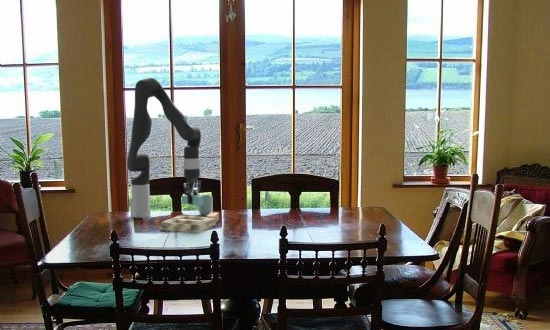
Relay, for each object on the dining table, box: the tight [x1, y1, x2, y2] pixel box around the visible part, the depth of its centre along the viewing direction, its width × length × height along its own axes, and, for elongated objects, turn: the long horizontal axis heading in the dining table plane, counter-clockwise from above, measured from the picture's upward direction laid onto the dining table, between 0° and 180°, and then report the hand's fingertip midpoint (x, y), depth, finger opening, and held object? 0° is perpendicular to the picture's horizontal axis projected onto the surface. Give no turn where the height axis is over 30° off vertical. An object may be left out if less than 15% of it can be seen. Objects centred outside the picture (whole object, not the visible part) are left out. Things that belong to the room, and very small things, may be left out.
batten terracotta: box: [205, 211, 220, 223], centre depth 273 cm, size 10×4×4 cm, turn 173°
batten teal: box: [181, 194, 204, 206], centre depth 264 cm, size 10×4×4 cm, turn 62°
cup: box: [197, 194, 214, 216], centre depth 291 cm, size 8×8×10 cm
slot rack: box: [160, 214, 217, 234], centre depth 261 cm, size 20×17×4 cm
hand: (192, 202), depth 264 cm, fingers closed on batten teal, 4 cm apart
